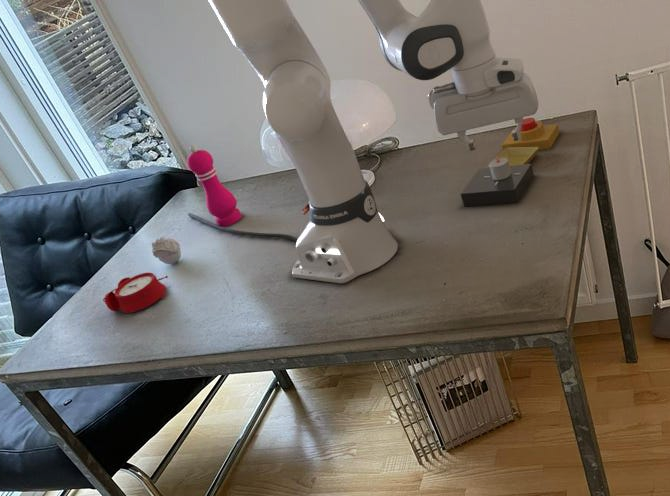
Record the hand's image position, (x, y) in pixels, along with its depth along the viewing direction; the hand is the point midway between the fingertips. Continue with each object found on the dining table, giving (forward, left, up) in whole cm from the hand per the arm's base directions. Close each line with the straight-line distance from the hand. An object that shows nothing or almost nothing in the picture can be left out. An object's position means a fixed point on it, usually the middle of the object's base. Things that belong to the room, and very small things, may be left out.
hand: (494, 144), depth 149 cm
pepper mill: (-73, -5, -10) cm, 74 cm away
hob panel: (-1, -1, -10) cm, 10 cm away
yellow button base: (-1, +21, -10) cm, 24 cm away
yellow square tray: (-2, +11, -10) cm, 15 cm away
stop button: (-1, +21, -6) cm, 22 cm away
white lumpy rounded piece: (-76, -24, -10) cm, 80 cm away
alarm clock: (-74, -39, -10) cm, 84 cm away
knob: (0, 0, -7) cm, 7 cm away
